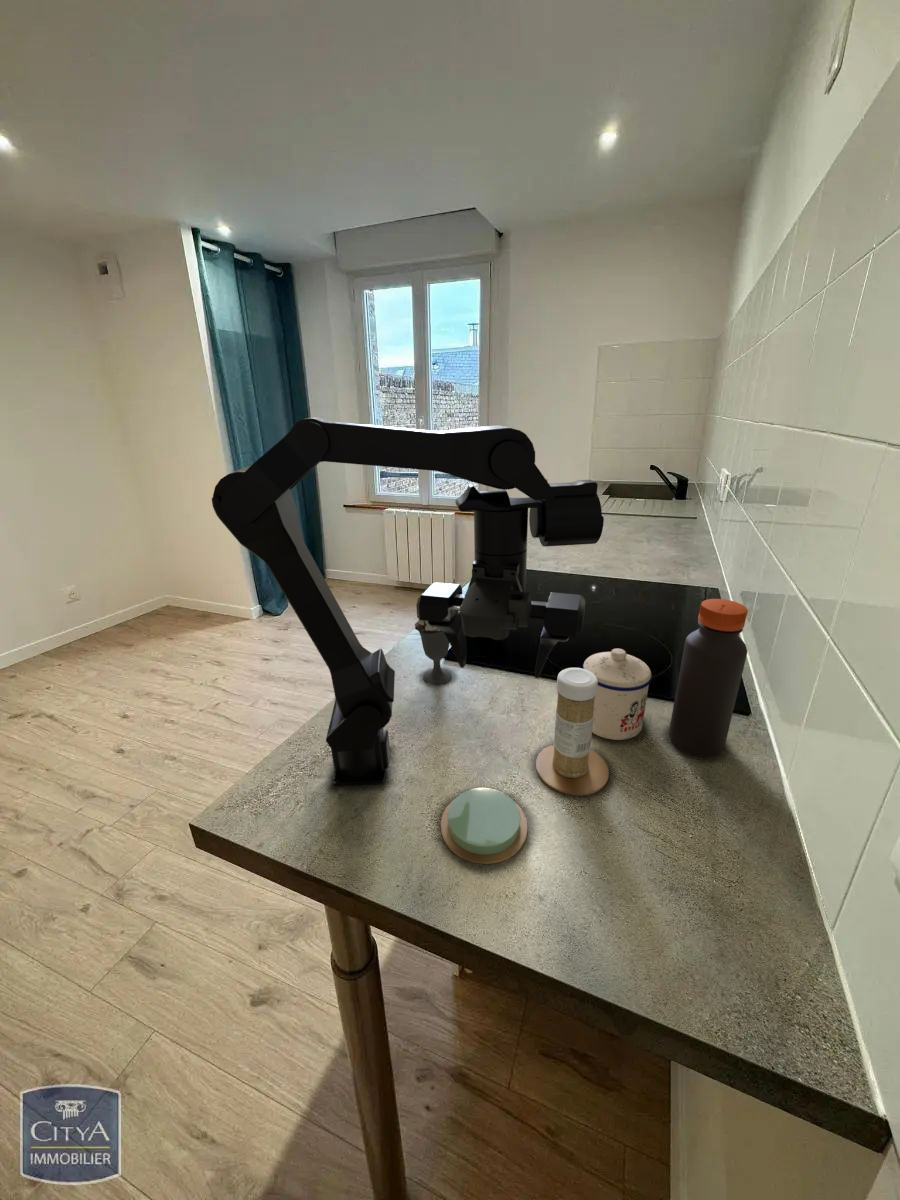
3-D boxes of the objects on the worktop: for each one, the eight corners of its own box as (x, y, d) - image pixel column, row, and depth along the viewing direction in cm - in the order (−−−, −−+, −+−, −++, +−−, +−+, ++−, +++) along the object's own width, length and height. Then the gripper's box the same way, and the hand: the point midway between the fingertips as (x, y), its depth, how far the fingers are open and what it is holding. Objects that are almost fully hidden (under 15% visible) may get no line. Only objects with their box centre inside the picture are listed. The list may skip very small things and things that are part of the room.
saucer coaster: (441, 866, 48) (441, 864, 48) (440, 793, 57) (440, 792, 57) (535, 861, 48) (535, 859, 48) (519, 790, 57) (519, 788, 57)
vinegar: (729, 762, 60) (765, 620, 52) (671, 753, 62) (698, 615, 54) (717, 729, 66) (747, 597, 58) (665, 722, 68) (687, 593, 60)
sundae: (413, 670, 83) (408, 591, 77) (450, 664, 85) (447, 586, 79) (423, 690, 77) (417, 607, 71) (461, 683, 79) (459, 600, 73)
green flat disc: (448, 856, 49) (448, 848, 48) (446, 796, 56) (446, 789, 55) (526, 852, 49) (526, 844, 48) (514, 793, 56) (514, 785, 56)
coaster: (544, 797, 56) (544, 795, 56) (529, 746, 64) (529, 744, 64) (619, 793, 56) (619, 791, 56) (595, 743, 64) (595, 741, 64)
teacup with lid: (630, 751, 62) (641, 676, 58) (567, 725, 68) (572, 654, 63) (658, 708, 71) (670, 639, 66) (600, 688, 76) (607, 623, 72)
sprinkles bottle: (577, 751, 62) (586, 663, 57) (595, 776, 58) (605, 683, 53) (545, 758, 61) (551, 669, 56) (560, 783, 57) (568, 689, 52)
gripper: (391, 565, 47) (402, 696, 53) (584, 580, 42) (572, 724, 48) (430, 536, 57) (435, 649, 63) (590, 545, 51) (579, 669, 57)
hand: (499, 671), depth 58 cm, fingers open, 9 cm apart
